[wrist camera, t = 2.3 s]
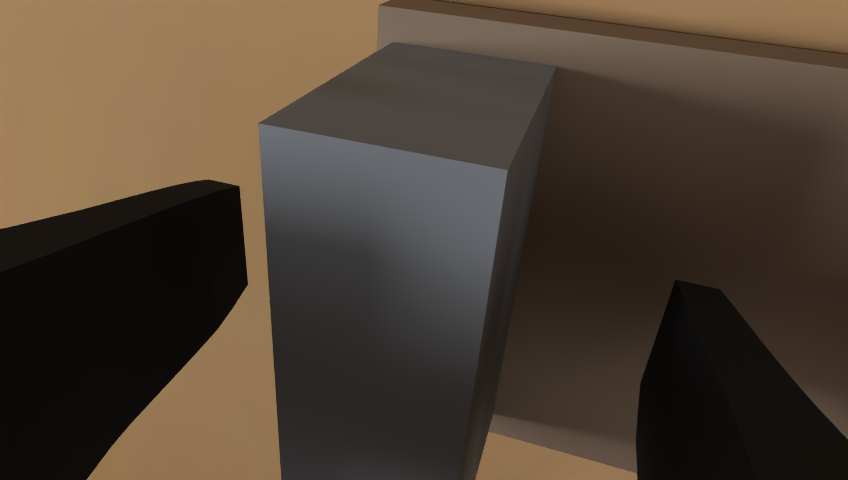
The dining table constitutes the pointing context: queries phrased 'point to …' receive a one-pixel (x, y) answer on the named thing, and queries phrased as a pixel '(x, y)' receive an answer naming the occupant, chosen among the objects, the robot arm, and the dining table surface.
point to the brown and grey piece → (539, 232)
